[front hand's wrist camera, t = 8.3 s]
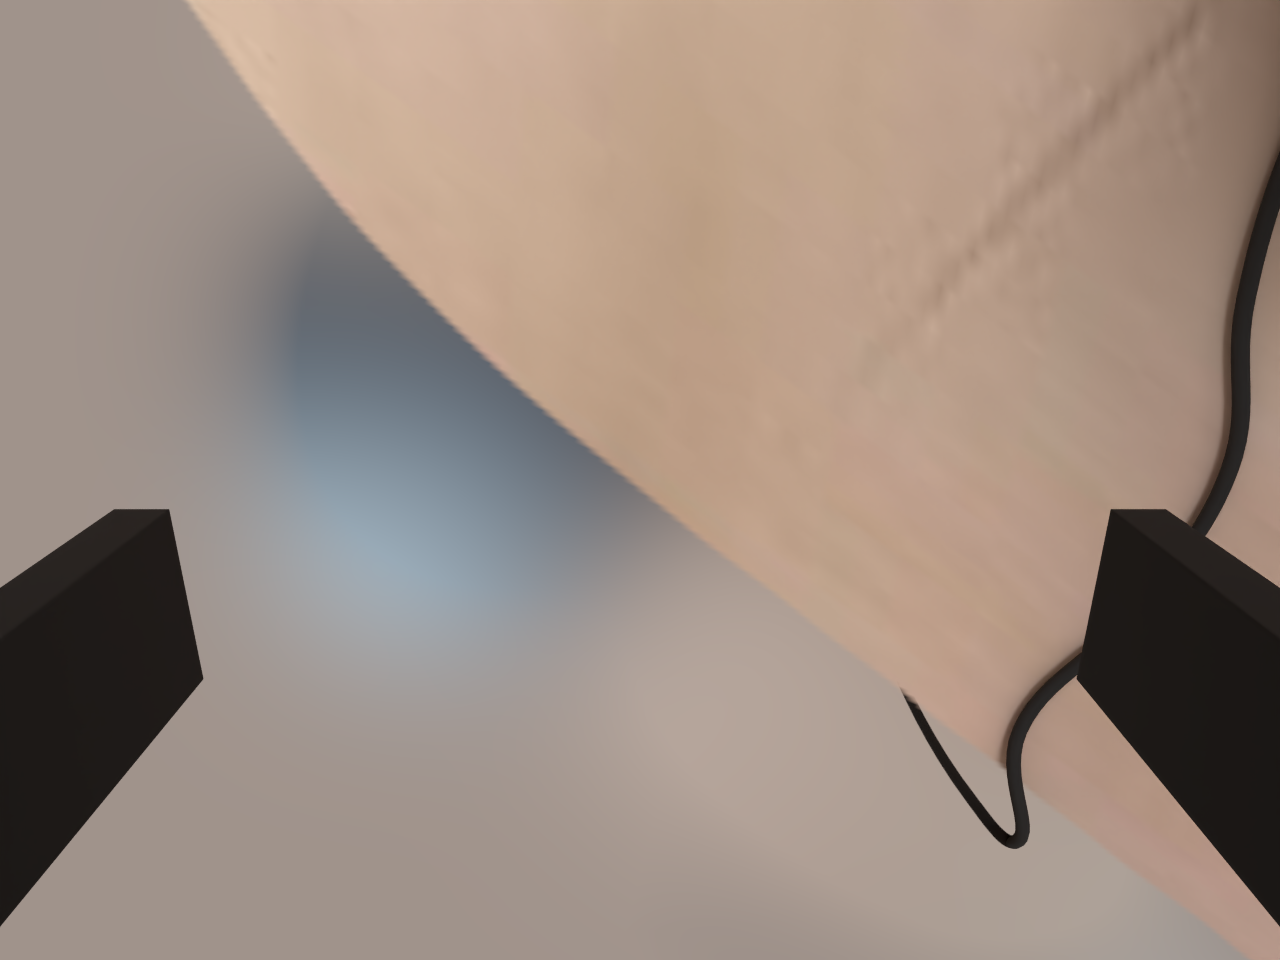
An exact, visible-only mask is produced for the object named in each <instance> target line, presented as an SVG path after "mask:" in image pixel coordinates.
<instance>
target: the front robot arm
mask: <svg viewBox="0 0 1280 960" xmlns="http://www.w3.org/2000/svg"><path fill="white" fill-rule="evenodd" d="M1279 209H1280V152H1279V155H1278V157H1277V160H1276V163H1275V166H1274V168H1273V171H1272V174H1271V176H1270V179H1269V182H1268V185H1267V188H1266V191H1265V193H1264V196H1263V199H1262V202H1261V206H1260V209H1259V212H1258V215H1257V218H1256V222H1255V225H1254V229H1253V232H1252V236H1251V239H1250V243H1249V247H1248V251H1247V255H1246V259H1245V263H1244V267H1243V271H1242V275H1241V280H1240V284H1239V289H1238V293H1237V298H1236V304H1235V310H1234V315H1233V325H1232V337H1231V383H1232V416H1231V428H1230V435H1229V441H1228V445H1227V450H1226V454H1225V457H1224V460H1223V463H1222V466H1221V469H1220V472H1219V475H1218V477H1217V480H1216V482H1215V484H1214V487H1213V489H1212V491H1211V493H1210V495H1209V498H1208V500H1207V501H1206V503H1205V505H1204V507H1203V509H1202V511H1201V513H1200V514H1199V516H1198V518H1197V519H1196V521H1195V523H1194V524H1193V526H1192V527H1191V526H1189V525H1188V524H1186V523H1185V522H1183V521H1182V520H1181V519H1179V518H1178V517H1176V516H1175V515H1173V514H1172V513H1170V512H1169V511H1167V510H1166V509H1111V511H1110V516H1109V521H1108V526H1107V531H1106V536H1105V541H1104V546H1103V551H1102V556H1101V561H1100V566H1099V571H1098V576H1097V581H1096V586H1095V590H1094V595H1093V600H1092V605H1091V610H1090V615H1089V620H1088V625H1087V630H1086V635H1085V640H1084V645H1083V650H1082V653H1080V654H1079V655H1078V656H1077V657H1075V658H1074V659H1073V660H1072V661H1070V662H1069V663H1068V664H1067V665H1065V666H1064V667H1063V668H1062V669H1061V670H1059V671H1058V672H1057V673H1056V674H1055V675H1054V676H1053V677H1051V678H1050V679H1049V680H1048V681H1047V682H1046V683H1045V684H1044V685H1043V686H1042V687H1041V688H1040V689H1039V690H1038V691H1037V692H1036V693H1035V695H1034V696H1033V697H1032V698H1031V700H1030V701H1029V702H1028V703H1027V705H1026V706H1025V708H1024V709H1023V711H1022V712H1021V714H1020V715H1019V717H1018V719H1017V721H1016V723H1015V725H1014V727H1013V729H1012V732H1011V735H1010V738H1009V742H1008V748H1007V760H1006V766H1007V778H1008V786H1009V791H1010V797H1011V801H1012V806H1013V811H1014V817H1015V829H1016V830H1015V833H1014V835H1010V834H1008V833H1006V832H1005V831H1004V830H1003V829H1002V828H1001V827H1000V826H999V825H998V824H997V823H996V821H995V820H994V819H993V818H992V816H991V815H990V814H989V813H988V811H987V810H986V809H985V807H984V806H983V805H982V803H981V802H980V801H979V800H978V798H977V797H976V796H975V794H974V793H973V791H972V790H971V789H970V787H969V786H968V785H967V783H966V782H965V781H964V779H963V778H962V777H961V775H960V774H959V772H958V771H957V769H956V768H955V766H954V765H953V763H952V762H951V760H950V759H949V757H948V756H947V754H946V752H945V751H944V749H943V747H942V746H941V744H940V743H939V741H938V739H937V738H936V736H935V734H934V732H933V731H932V729H931V727H930V725H929V724H928V722H927V720H926V718H925V716H924V714H923V712H922V711H921V709H920V707H919V705H918V703H916V702H915V701H913V700H912V698H911V697H909V696H908V695H906V694H905V693H904V692H903V691H902V690H901V689H900V690H901V692H902V694H903V696H904V698H905V700H906V702H907V704H908V706H909V708H910V710H911V712H912V714H913V716H914V718H915V720H916V722H917V724H918V726H919V728H920V729H921V731H922V733H923V735H924V737H925V739H926V740H927V742H928V744H929V746H930V747H931V749H932V751H933V752H934V754H935V756H936V757H937V759H938V761H939V762H940V764H941V765H942V767H943V769H944V770H945V772H946V773H947V775H948V776H949V778H950V779H951V781H952V782H953V784H954V785H955V787H956V788H957V789H958V791H959V792H960V793H961V795H962V796H963V798H964V799H965V801H966V802H967V803H968V805H969V806H970V807H971V809H972V810H973V811H974V813H975V814H976V815H977V817H978V818H979V820H980V821H981V822H982V823H983V825H984V826H985V827H986V828H987V830H988V831H989V832H990V833H991V834H992V835H993V837H994V838H995V839H996V840H997V841H998V842H1000V843H1001V844H1002V845H1004V846H1005V847H1008V848H1012V849H1017V848H1020V847H1022V846H1023V845H1024V844H1025V843H1026V842H1027V840H1028V837H1029V833H1030V824H1029V816H1028V810H1027V805H1026V800H1025V795H1024V790H1023V783H1022V776H1021V753H1022V747H1023V743H1024V740H1025V737H1026V734H1027V732H1028V730H1029V728H1030V726H1031V724H1032V723H1033V721H1034V719H1035V718H1036V716H1037V715H1038V713H1039V712H1040V711H1041V709H1042V708H1043V707H1044V706H1045V704H1046V703H1047V702H1048V701H1049V700H1050V699H1051V698H1052V697H1053V696H1054V695H1055V694H1056V693H1057V692H1058V691H1059V690H1060V689H1061V688H1062V687H1063V686H1064V685H1066V684H1067V683H1068V682H1069V681H1070V680H1072V679H1073V678H1074V677H1075V676H1076V675H1077V680H1078V681H1079V682H1080V684H1081V685H1082V686H1083V687H1084V689H1085V690H1086V691H1087V692H1088V693H1089V695H1090V696H1091V697H1092V698H1093V700H1094V701H1095V702H1096V703H1097V704H1098V706H1099V707H1100V708H1101V709H1102V710H1103V712H1104V713H1105V714H1106V715H1107V717H1108V718H1109V719H1110V720H1111V721H1112V723H1113V724H1114V725H1115V726H1116V728H1117V729H1118V730H1119V731H1120V732H1121V734H1122V735H1123V736H1124V737H1125V738H1126V740H1127V741H1128V742H1129V743H1130V745H1131V746H1132V747H1133V748H1134V749H1135V751H1136V752H1137V753H1138V754H1139V756H1140V757H1141V758H1142V759H1143V760H1144V762H1145V763H1146V764H1147V765H1148V767H1149V768H1150V769H1151V770H1152V771H1153V773H1154V774H1155V775H1156V776H1157V777H1158V779H1159V780H1160V781H1161V782H1162V784H1163V785H1164V786H1165V787H1166V788H1167V790H1168V791H1169V792H1170V793H1171V795H1172V796H1173V797H1174V798H1175V799H1176V801H1177V802H1178V803H1179V804H1180V806H1181V807H1182V808H1183V809H1184V810H1185V812H1186V813H1187V814H1188V815H1189V816H1190V818H1191V819H1192V820H1193V821H1194V823H1195V824H1196V825H1197V826H1198V827H1199V829H1200V830H1201V831H1202V832H1203V834H1204V835H1205V836H1206V837H1207V838H1208V840H1209V841H1210V842H1211V843H1212V844H1213V846H1214V847H1215V848H1216V849H1217V851H1218V852H1219V853H1220V854H1221V855H1222V857H1223V858H1224V859H1225V860H1226V862H1227V863H1228V864H1229V865H1230V866H1231V868H1232V869H1233V870H1234V871H1235V873H1236V874H1237V875H1238V876H1239V877H1240V879H1241V880H1242V881H1243V882H1244V883H1245V885H1246V886H1247V887H1248V888H1249V890H1250V891H1251V892H1252V893H1253V894H1254V896H1255V897H1256V898H1257V899H1258V901H1259V902H1260V903H1261V904H1262V905H1263V907H1264V908H1265V909H1266V910H1267V912H1268V913H1269V914H1270V915H1271V916H1272V918H1273V919H1274V920H1275V921H1276V922H1277V924H1278V925H1279V926H1280V588H1279V587H1278V586H1276V585H1275V584H1273V583H1272V582H1271V581H1269V580H1268V579H1266V578H1265V577H1263V576H1262V575H1260V574H1259V573H1257V572H1256V571H1255V570H1253V569H1252V568H1250V567H1249V566H1247V565H1246V564H1244V563H1243V562H1241V561H1240V560H1239V559H1237V558H1236V557H1234V556H1233V555H1231V554H1230V553H1228V552H1227V551H1226V550H1224V549H1223V548H1221V547H1220V546H1218V545H1217V544H1215V543H1214V542H1212V541H1211V540H1210V539H1208V538H1207V537H1205V536H1206V534H1207V533H1208V531H1209V530H1210V528H1211V526H1212V525H1213V523H1214V521H1215V520H1216V518H1217V516H1218V514H1219V513H1220V511H1221V509H1222V507H1223V505H1224V503H1225V501H1226V499H1227V497H1228V495H1229V492H1230V490H1231V488H1232V486H1233V483H1234V481H1235V478H1236V476H1237V473H1238V470H1239V467H1240V464H1241V461H1242V458H1243V455H1244V451H1245V447H1246V442H1247V436H1248V430H1249V421H1250V400H1251V399H1250V337H1251V325H1252V316H1253V310H1254V305H1255V299H1256V295H1257V290H1258V286H1259V281H1260V277H1261V273H1262V269H1263V265H1264V261H1265V257H1266V253H1267V249H1268V245H1269V242H1270V238H1271V235H1272V231H1273V228H1274V225H1275V221H1276V218H1277V215H1278V212H1279ZM202 680H203V675H202V670H201V665H200V660H199V655H198V650H197V645H196V640H195V635H194V630H193V625H192V620H191V615H190V610H189V606H188V600H187V595H186V590H185V586H184V581H183V576H182V571H181V566H180V561H179V556H178V551H177V546H176V541H175V536H174V531H173V526H172V521H171V516H170V511H169V509H114V510H113V511H111V512H110V513H108V514H107V515H105V516H104V517H102V518H101V519H99V520H98V521H97V522H95V523H94V524H92V525H91V526H89V527H88V528H86V529H85V530H83V531H82V532H81V533H79V534H78V535H76V536H75V537H73V538H72V539H70V540H69V541H68V542H66V543H65V544H63V545H62V546H60V547H59V548H57V549H56V550H55V551H53V552H52V553H50V554H49V555H47V556H46V557H44V558H43V559H41V560H40V561H39V562H37V563H36V564H34V565H33V566H31V567H30V568H28V569H27V570H25V571H24V572H23V573H21V574H20V575H18V576H17V577H15V578H14V579H12V580H11V581H9V582H8V583H7V584H5V585H4V586H2V587H1V588H0V926H1V925H2V924H3V922H4V921H5V920H6V919H7V918H8V916H9V915H10V914H11V913H12V911H13V910H14V909H15V908H16V907H17V905H18V904H19V903H20V902H21V900H22V899H23V898H24V897H25V896H26V894H27V893H28V892H29V891H30V890H31V888H32V887H33V886H34V885H35V883H36V882H37V881H38V880H39V879H40V877H41V876H42V875H43V874H44V873H45V871H46V870H47V869H48V868H49V866H50V865H51V864H52V863H53V861H54V860H55V859H56V858H57V857H58V855H59V854H60V853H61V852H62V851H63V849H64V848H65V847H66V846H67V844H68V843H69V842H70V841H71V840H72V838H73V837H74V836H75V835H76V834H77V832H78V831H79V830H80V829H81V827H82V826H83V825H84V824H85V822H86V821H87V820H88V819H89V818H90V816H91V815H92V814H93V813H94V812H95V810H96V809H97V808H98V807H99V806H100V804H101V803H102V802H103V801H104V799H105V798H106V797H107V796H108V794H109V793H110V792H111V791H112V790H113V788H114V787H115V786H116V785H117V784H118V782H119V781H120V780H121V779H122V777H123V776H124V775H125V774H126V773H127V771H128V770H129V769H130V768H131V767H132V765H133V764H134V763H135V762H136V760H137V759H138V758H139V757H140V755H141V754H142V753H143V752H144V751H145V749H146V748H147V747H148V746H149V745H150V743H151V742H152V741H153V740H154V738H155V737H156V736H157V735H158V734H159V732H160V731H161V730H162V729H163V727H164V726H165V725H166V724H167V723H168V721H169V720H170V719H171V718H172V717H173V715H174V714H175V713H176V712H177V710H178V709H179V708H180V707H181V706H182V704H183V703H184V702H185V701H186V699H187V698H188V697H189V696H190V695H191V693H192V692H193V691H194V690H195V688H196V687H197V686H198V685H199V684H200V682H201V681H202Z"/></svg>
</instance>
